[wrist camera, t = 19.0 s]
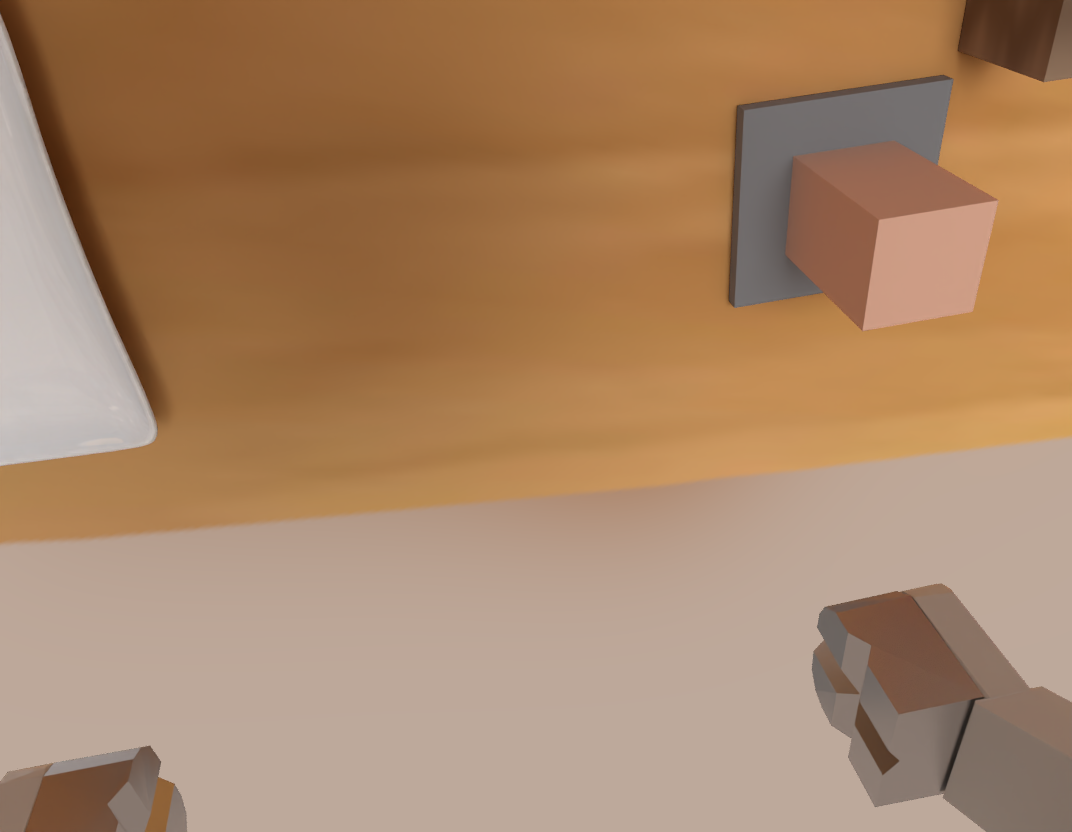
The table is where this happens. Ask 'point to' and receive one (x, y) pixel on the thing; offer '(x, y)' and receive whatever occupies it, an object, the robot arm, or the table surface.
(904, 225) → the pink block
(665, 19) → the table surface
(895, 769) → the robot arm
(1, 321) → the salad plate
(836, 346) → the table surface
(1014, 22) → the walnut screen
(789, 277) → the charcoal mat
